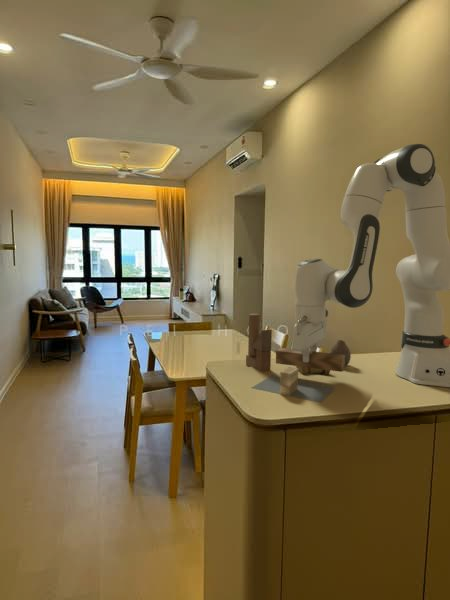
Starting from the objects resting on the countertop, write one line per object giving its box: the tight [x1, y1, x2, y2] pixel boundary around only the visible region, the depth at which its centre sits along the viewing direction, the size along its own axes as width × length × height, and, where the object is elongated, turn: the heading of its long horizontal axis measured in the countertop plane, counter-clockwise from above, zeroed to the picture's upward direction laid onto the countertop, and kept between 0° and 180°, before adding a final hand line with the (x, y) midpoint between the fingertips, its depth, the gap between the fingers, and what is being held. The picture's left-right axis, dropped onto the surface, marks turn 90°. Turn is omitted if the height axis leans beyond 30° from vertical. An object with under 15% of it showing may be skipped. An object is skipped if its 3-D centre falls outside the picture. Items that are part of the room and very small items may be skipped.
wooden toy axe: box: [245, 313, 273, 372], centre depth 131 cm, size 4×11×18 cm, turn 25°
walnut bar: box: [275, 347, 346, 373], centre depth 119 cm, size 20×4×4 cm, turn 61°
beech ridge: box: [279, 366, 299, 397], centre depth 108 cm, size 3×6×6 cm, turn 149°
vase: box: [330, 339, 352, 367], centre depth 138 cm, size 7×7×9 cm
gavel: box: [295, 366, 331, 375], centre depth 136 cm, size 21×5×10 cm
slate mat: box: [251, 375, 337, 404], centre depth 112 cm, size 20×14×1 cm
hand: (309, 359), depth 119 cm, fingers closed on walnut bar, 4 cm apart
